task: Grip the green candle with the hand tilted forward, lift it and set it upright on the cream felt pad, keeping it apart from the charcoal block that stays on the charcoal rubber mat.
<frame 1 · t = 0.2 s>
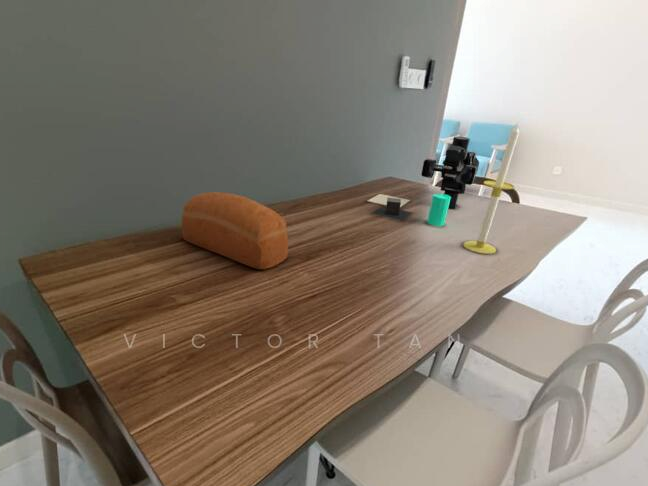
hand: (442, 176, 138), 17 cm above the table, tool horizontal, fingers open, 9 cm apart
charcoal mat: (391, 214, 151), on the table
bread: (234, 249, 115), on the table
charcoal block: (391, 212, 151), resting on charcoal mat
cream pad: (388, 201, 166), on the table
candle: (435, 224, 144), on the table
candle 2: (479, 248, 127), on the table
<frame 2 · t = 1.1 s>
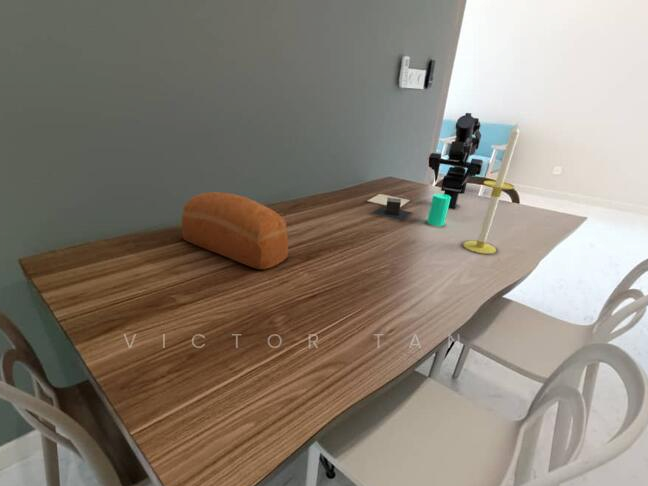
hand: (448, 183, 143), 13 cm above the table, tool tilted 45°, fingers open, 9 cm apart
nothing on the table moved.
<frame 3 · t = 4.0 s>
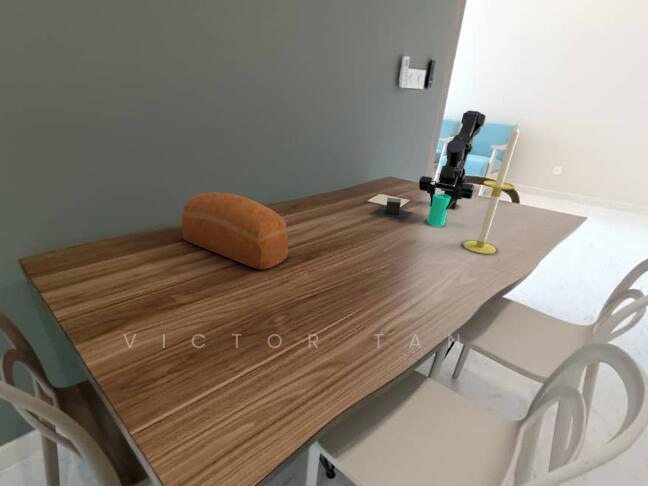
hand: (438, 207, 140), 7 cm above the table, tool tilted 45°, fingers closed on candle, 5 cm apart
candle: (435, 224, 144), on the table, touching gripper
everything else where it was.
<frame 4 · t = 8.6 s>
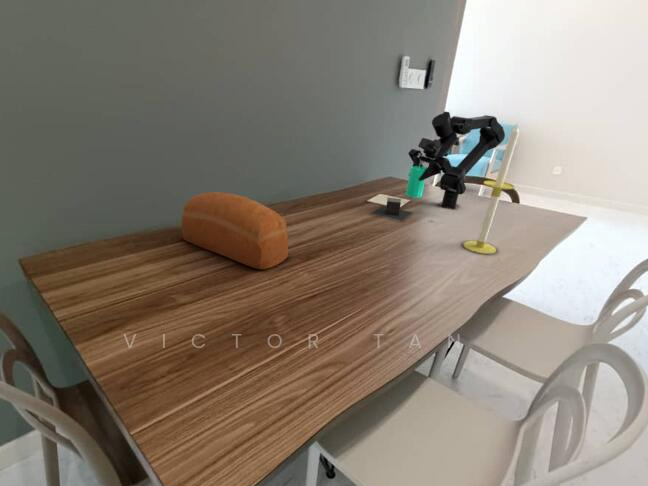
hand: (414, 178, 147), 13 cm above the table, tool tilted 45°, fingers closed on candle, 5 cm apart
candle: (413, 196, 151), point 7 cm above the table, touching gripper
everything else where it was.
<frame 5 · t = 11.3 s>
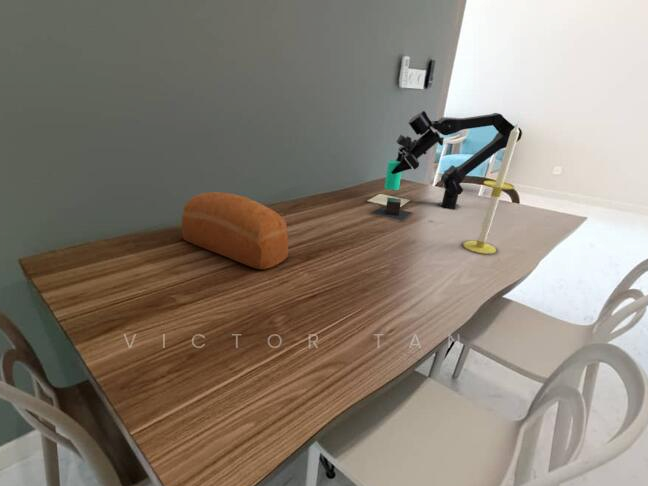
hand: (390, 171, 159), 12 cm above the table, tool tilted 45°, fingers closed on candle, 5 cm apart
candle: (391, 188, 163), point 6 cm above the table, touching gripper
everything else where it was.
when the fingers open (7 cm above the table, at t = 13.2 s): candle stays where it is, resting on cream pad.
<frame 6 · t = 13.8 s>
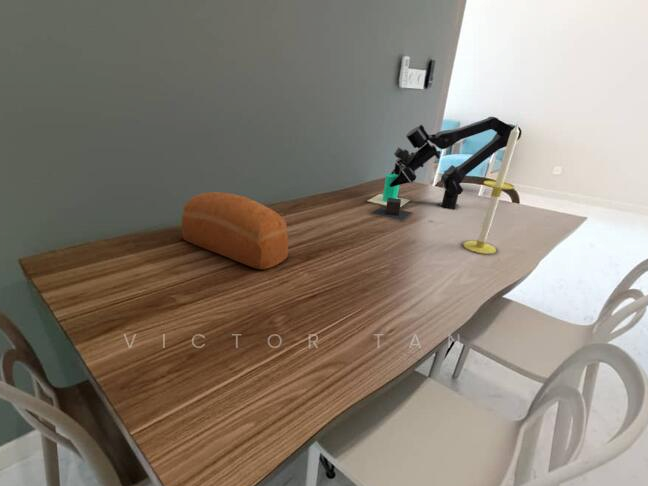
hand: (388, 183, 162), 8 cm above the table, tool tilted 45°, fingers open, 9 cm apart
candle: (389, 200, 165), resting on cream pad
everything else where it was.
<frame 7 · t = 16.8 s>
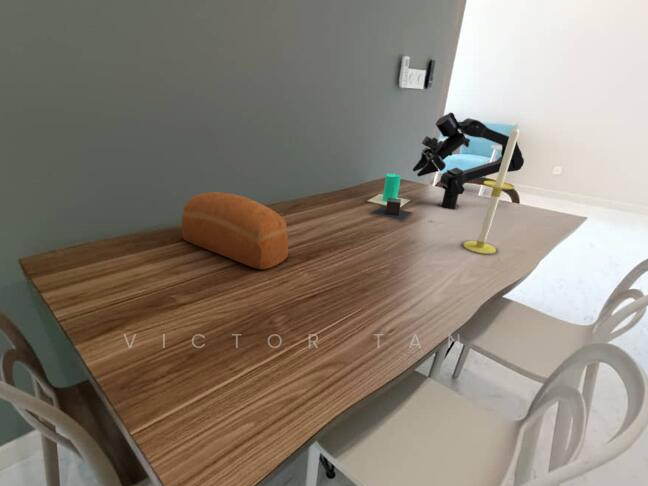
hand: (415, 173, 158), 13 cm above the table, tool tilted 45°, fingers open, 9 cm apart
nothing on the table moved.
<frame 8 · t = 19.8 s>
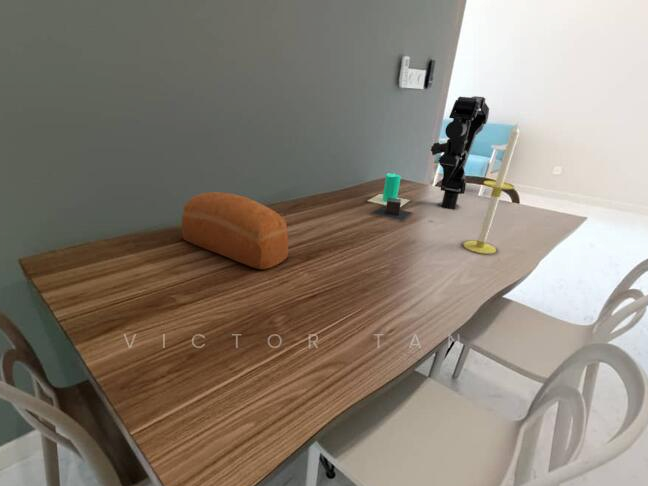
hand: (448, 180, 149), 13 cm above the table, tool pointing down, fingers open, 9 cm apart
nothing on the table moved.
at the end: candle inside the target area on the cream pad (0.1 cm from its centre), point 0.3 cm above the cream pad's base; candle tilted 0°; charcoal block inside the target area on the charcoal mat (0.0 cm from its centre), point 0.5 cm above the charcoal mat's base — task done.
